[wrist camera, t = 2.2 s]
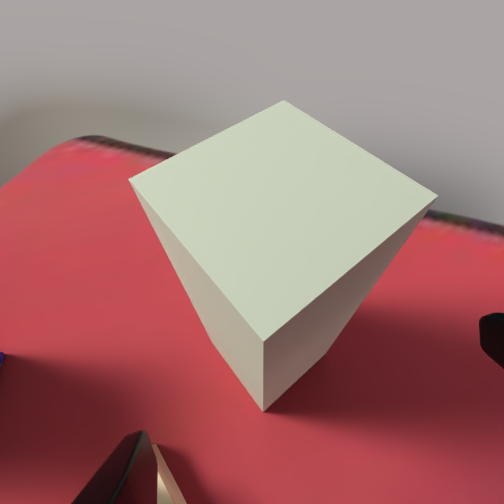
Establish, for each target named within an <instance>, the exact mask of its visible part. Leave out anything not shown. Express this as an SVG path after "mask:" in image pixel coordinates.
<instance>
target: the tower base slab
mask: <svg viewBox="0 0 504 504" xmlns="http://www.w3.org/2000/svg"><path fill="white" fill-rule="evenodd" d="M152 447H153V450H154V452H155V455H156V458H157V464H158V485H157V504H187V503H186V501H185V499H184V497H183V495H182V493H181V491H180V489H179V487H178V485H177V484H176V482H175V480H174V478H173V476H172V474H171V472H170V470H169V468H168V466H167V464H166V462H165V460H164V458H163V456H162V454H161V453H160V451H159V449H158V447H157V445H156V444H152Z"/></svg>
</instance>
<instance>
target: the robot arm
mask: <svg viewBox="0 0 504 504" xmlns="http://www.w3.org/2000/svg"><path fill="white" fill-rule="evenodd" d="M479 331H480V345H481V347H482V349H483V351H484V352H485V353H486V354H487V355H488V356H489V357H491V358H492V359H493V360H494V361H495V362H496V363H497V364H499V365H500V366H501V367H502V368H503V369H504V313H491V314H488V315H485V316H483V317H481V318H480V320H479ZM157 485H158V464H157V458H156V455H155V452H154V450H153V447H152V444H151V442H150V439H149V436H148V434H147V432H146V431H145V430H140V431H137V432H134V433H131V434H128V435H126V436H125V437H124V438H123V440H122V441H121V442H120V443H119V445H118V446H117V447H116V448H115V450H114V451H113V452H112V453H111V455H110V456H109V457H108V458H107V460H106V461H105V462H104V463H103V465H102V466H101V467H100V468H99V470H98V471H97V472H96V473H95V475H94V476H93V477H92V478H91V480H90V481H89V482H88V483H87V485H86V486H85V487H84V488H83V490H82V491H81V492H80V493H79V495H78V496H77V497H76V498H75V500H74V501H73V502H72V503H71V504H157Z"/></svg>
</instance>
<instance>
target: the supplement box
mask: <svg viewBox="0 0 504 504" xmlns="http://www.w3.org/2000/svg"><path fill="white" fill-rule="evenodd" d="M4 357H5V355H4V353H3V352H0V367H1V364H2V362H3V360H4Z"/></svg>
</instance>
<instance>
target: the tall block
mask: <svg viewBox="0 0 504 504" xmlns="http://www.w3.org/2000/svg"><path fill="white" fill-rule="evenodd" d="M129 181H130V183H131V185H132V187H133V189H134V191H135V193H136V195H137V197H138V199H139V201H140V203H141V205H142V207H143V209H144V210H145V212H146V214H147V216H148V218H149V220H150V222H151V224H152V226H153V228H154V230H155V232H156V234H157V236H158V238H159V240H160V242H161V244H162V246H163V248H164V249H165V251H166V253H167V255H168V257H169V259H170V261H171V263H172V265H173V267H174V269H175V271H176V273H177V275H178V277H179V279H180V281H181V283H182V285H183V286H184V288H185V290H186V292H187V294H188V296H189V298H190V300H191V302H192V304H193V306H194V308H195V310H196V312H197V314H198V316H199V318H200V320H201V322H202V323H203V325H204V327H205V329H206V331H207V333H208V335H209V337H210V339H211V341H212V343H213V344H214V346H215V347H216V349H217V350H218V351H219V353H220V354H221V355H222V357H223V358H224V359H225V361H226V362H227V364H228V365H229V366H230V368H231V369H232V370H233V372H234V373H235V375H236V376H237V377H238V379H239V380H240V381H241V383H242V384H243V385H244V387H245V388H246V390H247V391H248V392H249V394H250V395H251V396H252V398H253V399H254V401H255V402H256V403H257V405H258V406H259V407H260V409H261V410H262V411H263V412H264V411H265V410H266V409H267V408H268V407H269V406H270V405H271V404H272V403H273V402H275V401H276V400H277V399H278V398H279V397H280V396H281V395H282V394H283V393H284V392H285V391H286V390H287V389H288V388H290V387H291V386H292V385H293V384H294V383H295V382H296V381H297V380H298V379H299V378H300V377H301V376H302V375H303V374H305V373H306V372H307V371H308V370H309V369H310V368H311V367H312V366H313V365H314V364H315V363H316V362H317V361H318V360H320V359H321V358H322V357H323V356H324V355H325V354H326V352H327V351H328V349H329V348H330V347H331V345H332V344H333V342H334V341H335V340H336V338H337V337H338V335H339V334H340V333H341V331H342V330H343V328H344V327H345V326H346V324H347V323H348V321H349V320H350V319H351V317H352V316H353V314H354V313H355V312H356V310H357V309H358V307H359V306H360V305H361V303H362V302H363V300H364V299H365V298H366V296H367V295H368V293H369V292H370V291H371V289H372V288H373V286H374V285H375V284H376V282H377V281H378V279H379V278H380V277H381V275H382V274H383V272H384V271H385V270H386V268H387V267H388V265H389V264H390V263H391V261H392V260H393V258H394V257H395V256H396V254H397V253H398V251H399V250H400V249H401V247H402V246H403V244H404V243H405V242H406V240H407V239H408V237H409V236H410V235H411V233H412V232H413V230H414V229H415V228H416V226H417V225H418V223H419V222H420V221H421V219H422V218H423V216H424V215H425V214H426V212H427V211H428V209H429V208H430V207H431V205H432V204H433V202H434V201H435V200H436V198H437V197H438V195H436V194H434V193H433V192H431V191H430V190H428V189H426V188H425V187H423V186H422V185H420V184H418V183H417V182H415V181H413V180H412V179H410V178H409V177H407V176H405V175H404V174H402V173H401V172H399V171H397V170H396V169H394V168H393V167H391V166H389V165H388V164H386V163H384V162H383V161H381V160H380V159H378V158H376V157H375V156H373V155H372V154H370V153H368V152H367V151H365V150H363V149H362V148H360V147H359V146H357V145H355V144H354V143H352V142H351V141H349V140H347V139H346V138H344V137H342V136H341V135H339V134H338V133H336V132H334V131H333V130H331V129H329V128H328V127H326V126H325V125H323V124H321V123H320V122H318V121H317V120H315V119H313V118H312V117H310V116H309V115H307V114H305V113H304V112H302V111H301V110H299V109H297V108H296V107H294V106H292V105H291V104H289V103H288V102H286V101H284V100H283V101H281V102H279V103H277V104H275V105H273V106H271V107H270V108H267V109H266V110H264V111H262V112H260V113H258V114H256V115H254V116H252V117H250V118H248V119H246V120H244V121H242V122H240V123H238V124H236V125H234V126H232V127H230V128H228V129H226V130H224V131H222V132H220V133H219V134H216V135H215V136H212V137H211V138H208V139H206V140H204V141H202V142H201V143H199V144H197V145H195V146H193V147H191V148H189V149H187V150H185V151H183V152H181V153H179V154H177V155H175V156H173V157H171V158H169V159H167V160H165V161H163V162H161V163H159V164H157V165H155V166H153V167H151V168H149V169H147V170H145V171H143V172H141V173H139V174H138V175H136V176H134V177H132V178H130V179H129Z"/></svg>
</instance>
